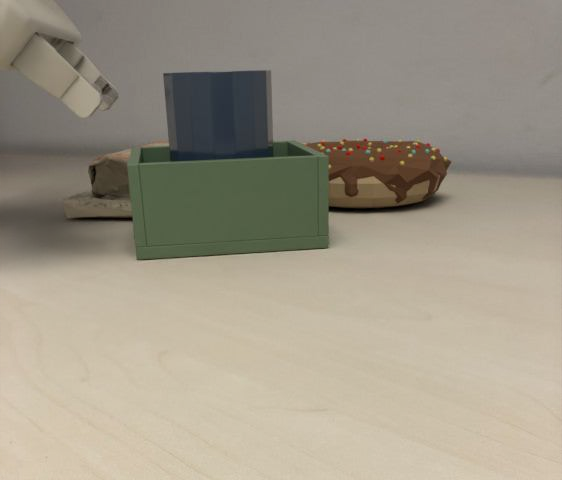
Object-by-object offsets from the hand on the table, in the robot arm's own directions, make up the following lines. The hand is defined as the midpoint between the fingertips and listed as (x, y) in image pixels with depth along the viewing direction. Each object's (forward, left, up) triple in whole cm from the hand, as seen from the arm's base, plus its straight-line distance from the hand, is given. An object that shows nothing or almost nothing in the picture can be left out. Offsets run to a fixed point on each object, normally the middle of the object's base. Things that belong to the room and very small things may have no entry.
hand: (105, 106), depth 46 cm
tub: (+7, 0, -9) cm, 12 cm away
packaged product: (+3, +16, -9) cm, 18 cm away
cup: (+7, 0, -8) cm, 11 cm away
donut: (+21, +11, -9) cm, 25 cm away
